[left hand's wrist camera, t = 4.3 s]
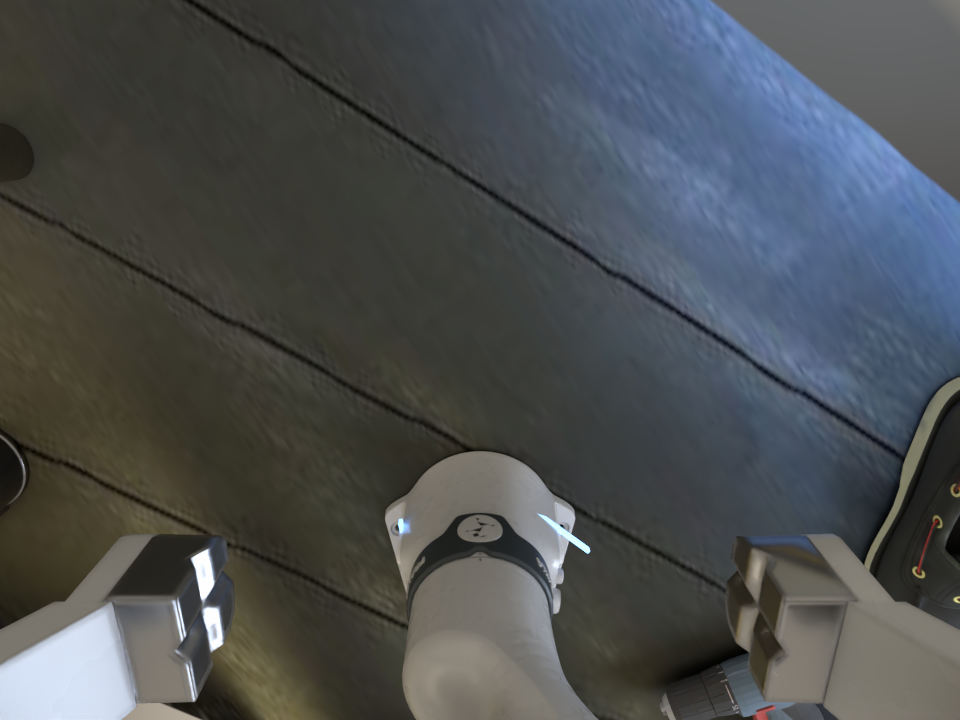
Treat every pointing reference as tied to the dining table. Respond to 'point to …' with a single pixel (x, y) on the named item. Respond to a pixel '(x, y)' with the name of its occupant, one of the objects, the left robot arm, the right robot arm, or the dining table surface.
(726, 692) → the power drill
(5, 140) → the dark grey cylindrical bottle
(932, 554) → the boat shoe
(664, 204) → the dining table surface
